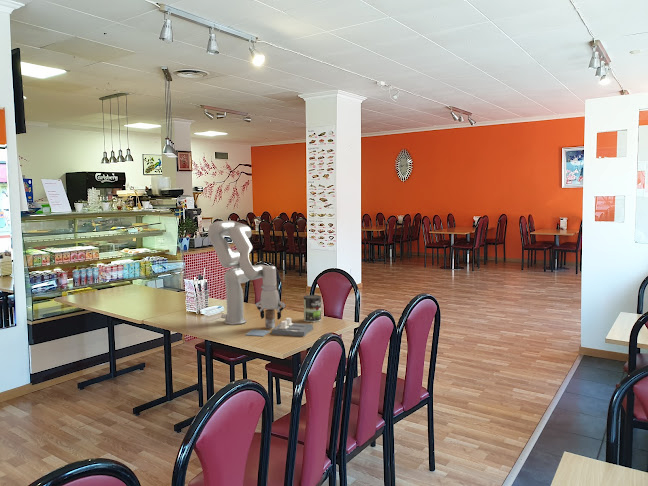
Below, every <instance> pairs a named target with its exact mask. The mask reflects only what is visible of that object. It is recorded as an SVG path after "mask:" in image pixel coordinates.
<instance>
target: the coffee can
mask: <svg viewBox="0 0 648 486" xmlns="http://www.w3.org/2000/svg"><path fill="white" fill-rule="evenodd" d="M303 321H304V322H306V323H317V322H321V321H322V296H321V295H317V294H308V295H304V296H303Z"/></svg>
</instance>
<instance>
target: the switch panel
mask: <svg viewBox="0 0 648 486" xmlns="http://www.w3.org/2000/svg"><path fill="white" fill-rule="evenodd" d="M292 323H293V325H291V326H289V328H287V329H279V328H280V327H281V323H279V324H278V325H275V327H274V328H273V329H271V335H273V334H275V335H277V336H287V335H291V336H290V337H301V336H304V337H306V334H307V333H308V332H309V333H310V332H311V331H313V329H314V325H313V323H312V324H311V323H308V324H307V323H296V322H295V323H294V322H292ZM309 333H308V334H309ZM308 334H307V335H308Z"/></svg>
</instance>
